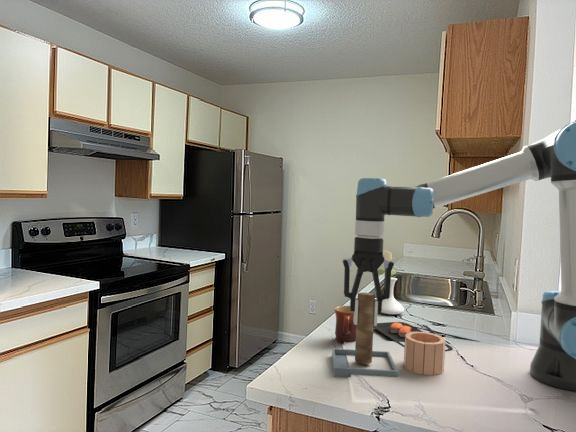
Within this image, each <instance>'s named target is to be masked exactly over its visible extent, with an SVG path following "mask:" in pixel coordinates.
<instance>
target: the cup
mask: <svg viewBox="0 0 576 432" xmlns="http://www.w3.org/2000/svg"><path fill="white" fill-rule="evenodd" d="M445 343H446V339H445V337H443V336H440V335H439V334H437V333H435V334H433V333H432V332H428V331H427V332H426V331H423V332H409V333H407V334H406V335H405V342H404V345H405V347H403V348H404V349H403V350H404V351H403V366H404V368H405V369H406V370H408V371H410V372H411V373H414V374H418V375H422V376H423V375H424V376H438V375H441V374H443V372H445V358H446V351H445V350H446V346H445ZM446 344H447V343H446Z"/></svg>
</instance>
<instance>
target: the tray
mask: <svg viewBox="0 0 576 432" xmlns="http://www.w3.org/2000/svg"><path fill="white" fill-rule="evenodd" d="M347 355H353V356H355V349H346V348H331V360H332V369H333V377H341V378H352V376H351V375H368V376H384V377H385V376H386V377H387V376H388V377H399V370H398V368H397V366H396V363H395V361H394V360H393V357H392V355H391V353H390V351H383V350H382V351H381V350H380V351H379V350H372V357H384V358H385V357H386V358H387V360H388V362H389V364H390V366H391V369H375V368H373V369H372V368H359V367H350V366H349V361H348V356H347Z"/></svg>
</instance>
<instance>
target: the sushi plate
mask: <svg viewBox="0 0 576 432" xmlns="http://www.w3.org/2000/svg"><path fill="white" fill-rule="evenodd" d="M424 326H425V327H426V328H427V329H426V328H424V327H423V328H422V327H418V326H415V325H412V324H409V323H407V322H404V321H403V322H402V321H391V322H390V321H389V322H377V326H373V330H375V331H377V332H379V333H380V334H382V335H383V336H385V337H387V338H388V339H390V340H391V341H393V342H395V343H397V344H398V345H400V346H402V347H403V348H404V347H405V344H403V343H405V335H406V334H407V333H409V332H424V331H427V332H429V333H432V334H438V335H439V334H440V335H444V336H447V337H452V338H455V339H456V338H457V339H460V340H466V341H470V342H471V341H473V342H477V343H481V340H476V339H472V338H467V337H463V336H460V335H459V336H458V335H453V334H449V333H444V332H439V331H435V330H432V329H431V328H430V327H429V326H428V325H426V324H425V325H424ZM445 348H446V349H445V352H450V351H453V350H454V349H453V347H452V346H451V345H450V344H448V343H445Z"/></svg>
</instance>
